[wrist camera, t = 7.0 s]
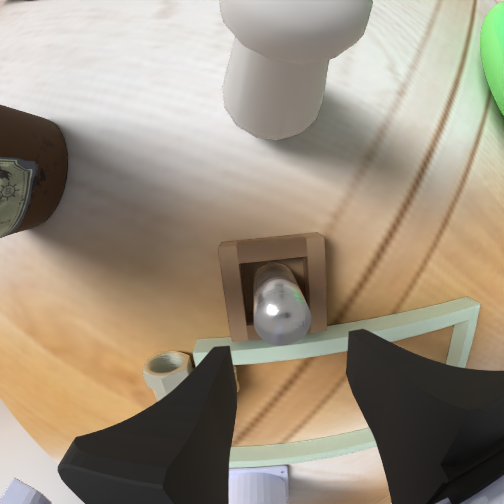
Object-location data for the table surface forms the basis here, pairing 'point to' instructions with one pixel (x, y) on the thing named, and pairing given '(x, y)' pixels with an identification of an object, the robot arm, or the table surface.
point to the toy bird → (494, 52)
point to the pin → (279, 306)
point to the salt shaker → (285, 59)
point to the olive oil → (29, 170)
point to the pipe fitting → (168, 372)
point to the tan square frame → (267, 250)
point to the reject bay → (336, 341)
